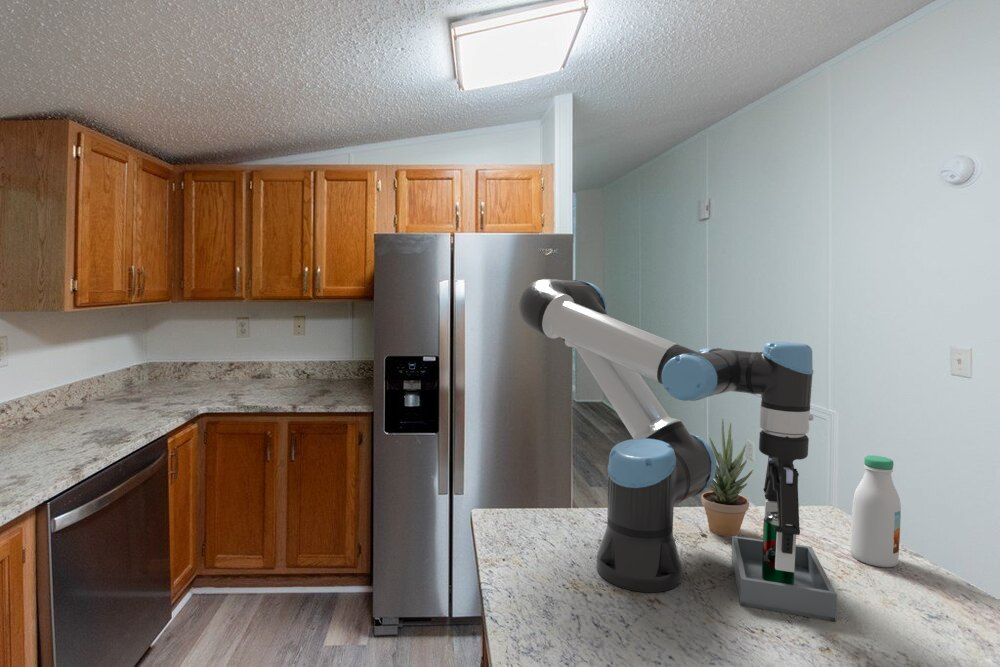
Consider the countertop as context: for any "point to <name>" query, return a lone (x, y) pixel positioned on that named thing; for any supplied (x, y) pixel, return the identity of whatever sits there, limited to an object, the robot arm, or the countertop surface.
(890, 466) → the milk bottle
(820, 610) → the bin
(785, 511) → the robot arm
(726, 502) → the potted plant
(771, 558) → the soda can
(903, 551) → the countertop surface
